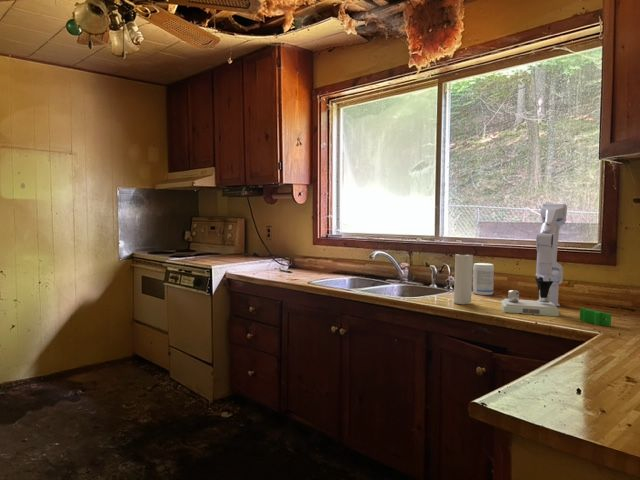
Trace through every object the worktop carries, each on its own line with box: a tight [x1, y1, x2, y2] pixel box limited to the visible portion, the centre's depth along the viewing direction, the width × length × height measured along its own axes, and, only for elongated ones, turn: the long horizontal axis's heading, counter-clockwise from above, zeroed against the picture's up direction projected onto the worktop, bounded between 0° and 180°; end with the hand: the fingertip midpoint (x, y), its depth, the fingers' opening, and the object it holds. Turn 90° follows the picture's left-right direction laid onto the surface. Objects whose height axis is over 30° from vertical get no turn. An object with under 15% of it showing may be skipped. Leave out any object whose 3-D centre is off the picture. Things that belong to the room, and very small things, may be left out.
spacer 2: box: [538, 290, 550, 303], centre depth 189 cm, size 4×4×4 cm
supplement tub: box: [472, 262, 495, 296], centre depth 229 cm, size 10×10×15 cm
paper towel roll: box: [453, 253, 474, 305], centre depth 203 cm, size 7×6×21 cm
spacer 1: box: [507, 289, 520, 303], centre depth 193 cm, size 4×4×4 cm
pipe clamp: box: [579, 307, 612, 327], centre depth 171 cm, size 11×4×5 cm, turn 25°
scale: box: [500, 298, 560, 317], centre depth 191 cm, size 15×20×3 cm
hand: (542, 296), depth 189 cm, fingers closed on spacer 2, 4 cm apart
